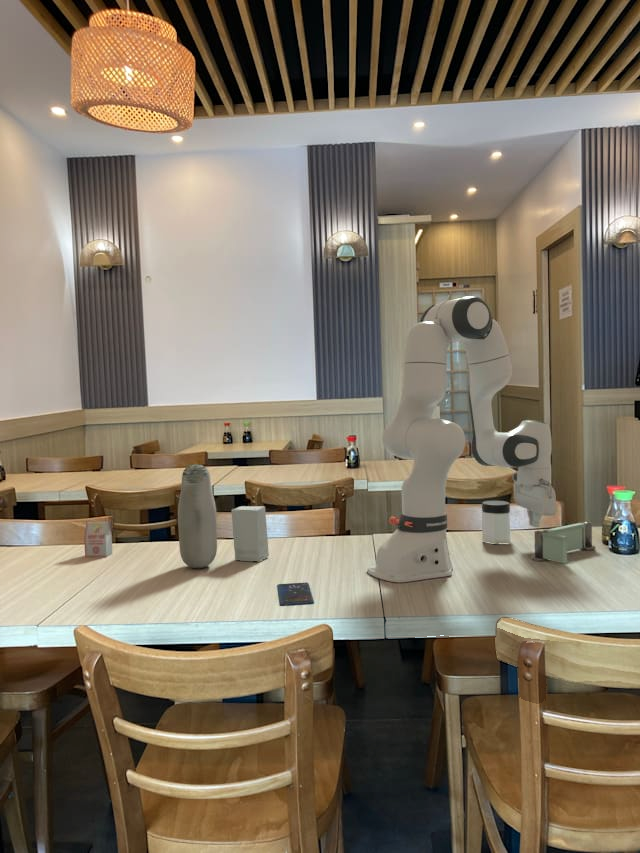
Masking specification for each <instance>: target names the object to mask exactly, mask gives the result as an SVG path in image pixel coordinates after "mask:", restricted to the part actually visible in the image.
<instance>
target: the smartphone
mask: <svg viewBox="0 0 640 853" xmlns="http://www.w3.org/2000/svg"><path fill="white" fill-rule="evenodd" d="M311 590H312V589H311V586H310V584H309V582H293V583H292V582H291V583H278V584H277V593H278V602H279V606H281V607H285V606H296V605H299V606H300V605H314V604H315V602H314V598H313V597H314V596H313V595H312V591H311Z"/></svg>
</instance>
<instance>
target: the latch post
mask: <svg viewBox="0 0 640 853" xmlns="http://www.w3.org/2000/svg"><path fill="white" fill-rule="evenodd" d="M542 533H545V532H544V531H543V530H536V531H534V554H533V555H531V557H530V558H531V559H530V560H532V561H535V562H543V561H545V562H549V559H545V558H543V537H542ZM543 563H544V562H543Z"/></svg>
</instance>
